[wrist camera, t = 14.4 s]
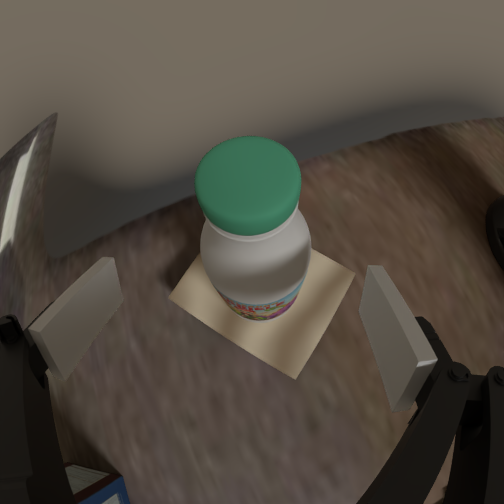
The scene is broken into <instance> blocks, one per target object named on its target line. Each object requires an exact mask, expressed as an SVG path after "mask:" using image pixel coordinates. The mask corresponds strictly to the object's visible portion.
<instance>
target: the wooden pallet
mask: <svg viewBox="0 0 504 504" xmlns="http://www.w3.org/2000/svg"><path fill="white" fill-rule="evenodd" d="M355 274H356V273H354V272H352V271H350V270H349V269H347V268H345V267H343V266H342V265H340V264H338V263H336V262H335V261H333V260H331V259H329V258H328V257H326V256H324V255H322V254H321V253H319V252H317V251H315V250H313V249H312V248H311V259H310V263H309V267H308V271H307V274H306V277H305V279H304V282H303V284H302V287H301V289H300V291H299V293H298V296H297V298H296V300H295V302H294V304H293V305H292V307H291V308H290V309H289V311H288V312H287V313H286V314H284V315H283V316H282V317H280V318H278V319H276V320H274V321H271V322H267V323H254V322H250V321H247V320H244V319H242V318H241V317H239V316H238V315H236V314H235V313H234V312H233V311H232V310H231V309H230V307H229V306H228V305H227V304H226V302H225V301H224V300H223V298H222V297H221V296H220V294H219V293H218V292H217V290H216V289H215V287H214V286H213V284H212V283H211V281H210V279H209V277H208V275H207V274H206V271H205V269H204V266H203V262H202V258H201V251H200V253H199V254H198V256H197V257H196V258H195V260H194V261H193V263H192V264H191V266H190V267H189V268H188V270H187V271H186V273H185V274H184V276H183V277H182V278H181V280H180V281H179V283H178V284H177V286H176V287H175V289H174V290H173V292H172V293H171V294H170V296H169V297H168V298H169V299H171V300H172V301H173V302H175V303H176V304H177V305H179V306H180V307H182V308H183V309H185V310H186V311H187V312H189V313H190V314H192V315H193V316H195V317H196V318H197V319H199V320H200V321H202V322H203V323H205V324H206V325H208V326H209V327H211V328H212V329H214V330H215V331H217V332H218V333H220V334H221V335H223V336H224V337H226V338H227V339H229V340H230V341H232V342H234V343H235V344H237V345H238V346H240V347H241V348H243V349H245V350H246V351H248V352H249V353H251V354H253V355H254V356H256V357H258V358H259V359H261V360H263V361H264V362H266V363H268V364H269V365H271V366H273V367H274V368H276V369H278V370H279V371H281V372H283V373H285V374H286V375H288V376H290V377H292V378H293V379H295V380H296V378H297V376H298V375H299V373H300V372H301V370H302V368H303V367H304V365H305V364H306V362H307V360H308V359H309V357H310V355H311V354H312V352H313V350H314V349H315V347H316V345H317V344H318V342H319V340H320V339H321V337H322V335H323V333H324V332H325V330H326V328H327V326H328V325H329V323H330V321H331V319H332V317H333V316H334V314H335V312H336V310H337V308H338V306H339V305H340V303H341V301H342V299H343V297H344V295H345V293H346V291H347V289H348V288H349V286H350V284H351V282H352V280H353V278H354V276H355Z"/></svg>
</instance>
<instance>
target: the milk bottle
mask: <svg viewBox="0 0 504 504" xmlns="http://www.w3.org/2000/svg"><path fill="white" fill-rule="evenodd" d="M194 184H195V193H196V196H197V199H198V202H199V205H200V207H201V209H202V211H203V213H204V216H205V218H206V221H205V223H204V226H203V229H202V234H201V240H200V251H201V258H202V262H203V266H204V269H205V271H206V274H207V275H208V277H209V279H210V281H211V283H212V284H213V286H214V287H215V289H216V290H217V292H218V293H219V294H220V296H221V297H222V298H223V300H224V301H225V302H226V304H227V305H228V306H229V307H230V309H231V310H232V311H233V312H234V313H235V314H236V315H238V316H239V317H241V318H242V319H244V320H247V321H250V322H254V323H267V322H271V321H274V320H276V319H278V318H280V317H282V316H283V315H284V314H286V313H287V312H288V311H289V309H290V308H291V307H292V305H293V304H294V302H295V300H296V298H297V296H298V293H299V291H300V289H301V287H302V284H303V282H304V279H305V277H306V274H307V271H308V267H309V263H310V259H311V237H310V233H309V229H308V226H307V223H306V221H305V219H304V217H303V216H302V214H301V212H300V211H299V210H298V208H297V207H298V200H299V196H300V190H301V173H300V169H299V166H298V164H297V161H296V159H295V158H294V156H293V155H292V154H291V153H290V151H289V150H287V149H286V148H285V147H284V146H282V145H281V144H279V143H277V142H275V141H273V140H271V139H267V138H263V137H257V136H243V137H237V138H233V139H229V140H227V141H224V142H222V143H220V144H218V145H217V146H215V147H214V148H212V149H211V150H210V151H209V152H208V153H207V154H206V155H205V156H204V157H203V158H202V160H201V161H200V163H199V165H198V167H197V170H196V174H195V183H194Z"/></svg>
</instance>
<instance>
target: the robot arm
mask: <svg viewBox="0 0 504 504" xmlns="http://www.w3.org/2000/svg"><path fill="white" fill-rule="evenodd" d="M486 230H487V235H488V239H489V243H490V246H491V248H492V251H493V253H494V255H495V257H496V259H497V261H498V262H499V264H500V266H501V267H502V268H503V269H504V196H501V197H499V198H498V199H496V200H495V201H494V202H493V203H492V204H491V205H490V206H489V208H488V211H487V214H486ZM123 301H124V299H123V295H122V291H121V287H120V283H119V279H118V275H117V270H116V266H115V261H114V257H102V258H101V259H100V260H98V261H97V262H96V263H95V264H94V265H93V266H92V267H91V268H90V269H88V270H87V271H86V272H85V273H84V274H83V275H82V276H81V277H80V278H79V279H78V280H76V281H75V282H74V283H73V284H72V285H71V286H70V287H69V288H68V289H67V290H66V291H65V292H64V293H63V294H62V295H61V296H60V297H59V298H58V299H57V300H55V301H54V302H52V303H50V304H49V305H48V306H47V307H46V308H45V309H44V311H42V312H41V313H40V314H39V316H37V317H36V318H35V319H34V320H33V322H32V323H31V324H30V325H29V326H28V327H27V328H26V329H25V330H24V331H23V330H22V328H21V326H20V324H19V322H18V320H17V317H16V316H15V315H11V314H10V315H6V316H3V317H1V318H0V504H77V503H76V501H75V498H74V495H73V492H72V489H71V486H70V483H69V480H68V477H67V473H66V470H65V467H64V463H63V459H62V455H61V451H60V447H59V443H58V439H57V434H56V429H55V424H54V419H53V413H52V406H51V400H50V392H49V384H48V377H47V375H46V373H45V371H46V370H47V369H48V368H49V370H50V372H51V373H52V375H53V377H55V378H57V379H60V380H63V381H66V380H67V379H68V377H69V376H70V374H71V373H72V371H73V370H74V368H75V367H76V365H77V364H78V362H79V361H80V360H81V358H82V357H83V355H84V354H85V352H86V351H87V350H88V348H89V347H90V345H91V344H92V343H93V341H94V340H95V338H96V337H97V336H98V334H99V333H100V331H101V330H102V329H103V327H104V326H105V325H106V323H107V322H108V321H109V319H110V318H111V317H112V315H113V314H114V313H115V311H116V310H117V309H118V307H119V306H120V305H121V303H122V302H123ZM358 312H359V314H360V317H361V320H362V322H363V325H364V328H365V331H366V333H367V336H368V339H369V342H370V345H371V348H372V351H373V353H374V356H375V359H376V362H377V365H378V368H379V372H380V375H381V378H382V381H383V384H384V387H385V391H386V394H387V397H388V401H389V404H390V407H391V411H392V412H398V411H404V410H409V409H410V408H411V406H412V405H413V403H414V401H416V403H417V406H418V409H417V410H416V412H415V413H414V415H413V416H412V418H411V419H410V421H409V422H408V424H409V425H408V427H407V429H406V431H405V432H404V434H403V436H402V438H401V439H400V441H399V443H398V444H397V446H396V448H395V449H394V451H393V453H392V454H391V456H390V457H389V459H388V460H387V462H386V463H385V465H384V467H383V468H382V469H381V471H380V472H379V474H378V475H377V477H376V478H375V480H374V481H373V482H372V484H371V485H370V486H369V488H368V489H367V491H366V492H365V493H364V494H363V496H362V497H361V498H360V500H359V501H358V502H357V503H356V504H423V503H424V501H425V499H426V497H427V496H428V494H429V492H430V490H431V488H432V486H433V484H434V482H435V480H436V478H437V476H438V474H439V472H440V470H441V467H442V465H443V463H444V461H445V458H446V456H447V454H448V451H449V449H450V446H451V444H452V441H453V439H454V436H455V433H456V436H455V445H454V452H453V459H452V465H451V471H450V476H449V481H448V486H447V490H446V495H445V499H444V503H443V504H504V368H503V367H500V366H494V367H492V368H491V369H490V370H489V371H488V373H487V375H486V376H482V375H472V374H471V373H470V371H469V369H468V368H467V367H466V366H464V365H463V364H461V363H458V362H453V361H452V359H451V357H450V355H449V354H448V352H447V350H446V348H445V347H444V345H443V343H442V342H441V340H439V336H438V335H437V333H435V330H434V328H433V327H432V325H431V323H429V322H428V321H427V320H426V319H425V318H423V317H414V316H413V314H412V312H411V311H410V309H409V307H408V306H407V304H406V302H405V301H404V299H403V297H402V296H401V294H400V293H399V291H398V289H397V288H396V286H395V285H394V283H393V282H392V280H391V279H390V277H389V275H388V274H387V272H386V271H385V269H384V268H383V266H377V265H368V268H367V273H366V278H365V283H364V288H363V293H362V298H361V303H360V307H359V311H358Z"/></svg>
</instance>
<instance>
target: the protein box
mask: <svg viewBox="0 0 504 504" xmlns="http://www.w3.org/2000/svg"><path fill="white" fill-rule="evenodd" d="M64 467H65V470H66V473H67V477H68V480H69V483H70V486H71V489H72V492H73V495H74V498H75V501H76V503H77V504H130V502H129V498H128V494H127V491H126V487H125V483H124V479H123V476H121V475H117V474H111V473H107V472H102V471H98V470H94V469H90V468H86V467H82V466H78V465H75V464H71V463H68V462H67V463H64Z"/></svg>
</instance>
